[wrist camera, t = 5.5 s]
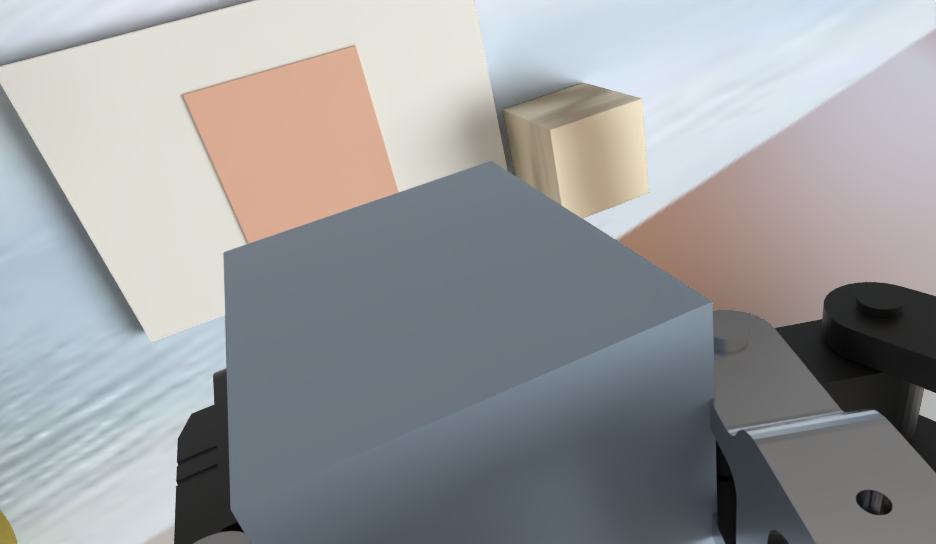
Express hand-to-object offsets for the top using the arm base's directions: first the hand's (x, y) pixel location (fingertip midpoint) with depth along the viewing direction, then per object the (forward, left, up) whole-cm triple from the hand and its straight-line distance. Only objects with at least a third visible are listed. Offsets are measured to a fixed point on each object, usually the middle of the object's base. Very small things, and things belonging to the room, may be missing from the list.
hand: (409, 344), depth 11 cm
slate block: (0, 0, -1) cm, 1 cm away
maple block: (-12, +4, -19) cm, 22 cm away
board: (0, +1, -18) cm, 18 cm away
